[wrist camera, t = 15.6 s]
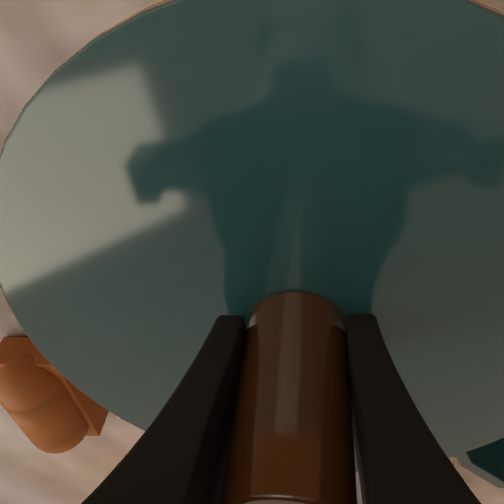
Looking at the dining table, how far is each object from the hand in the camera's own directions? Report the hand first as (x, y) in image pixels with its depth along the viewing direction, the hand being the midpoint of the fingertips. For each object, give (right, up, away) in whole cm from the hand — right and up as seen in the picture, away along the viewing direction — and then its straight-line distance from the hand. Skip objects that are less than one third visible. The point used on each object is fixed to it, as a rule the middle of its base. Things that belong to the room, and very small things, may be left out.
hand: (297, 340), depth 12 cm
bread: (-14, -6, +20) cm, 26 cm away
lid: (0, +1, +1) cm, 1 cm away
